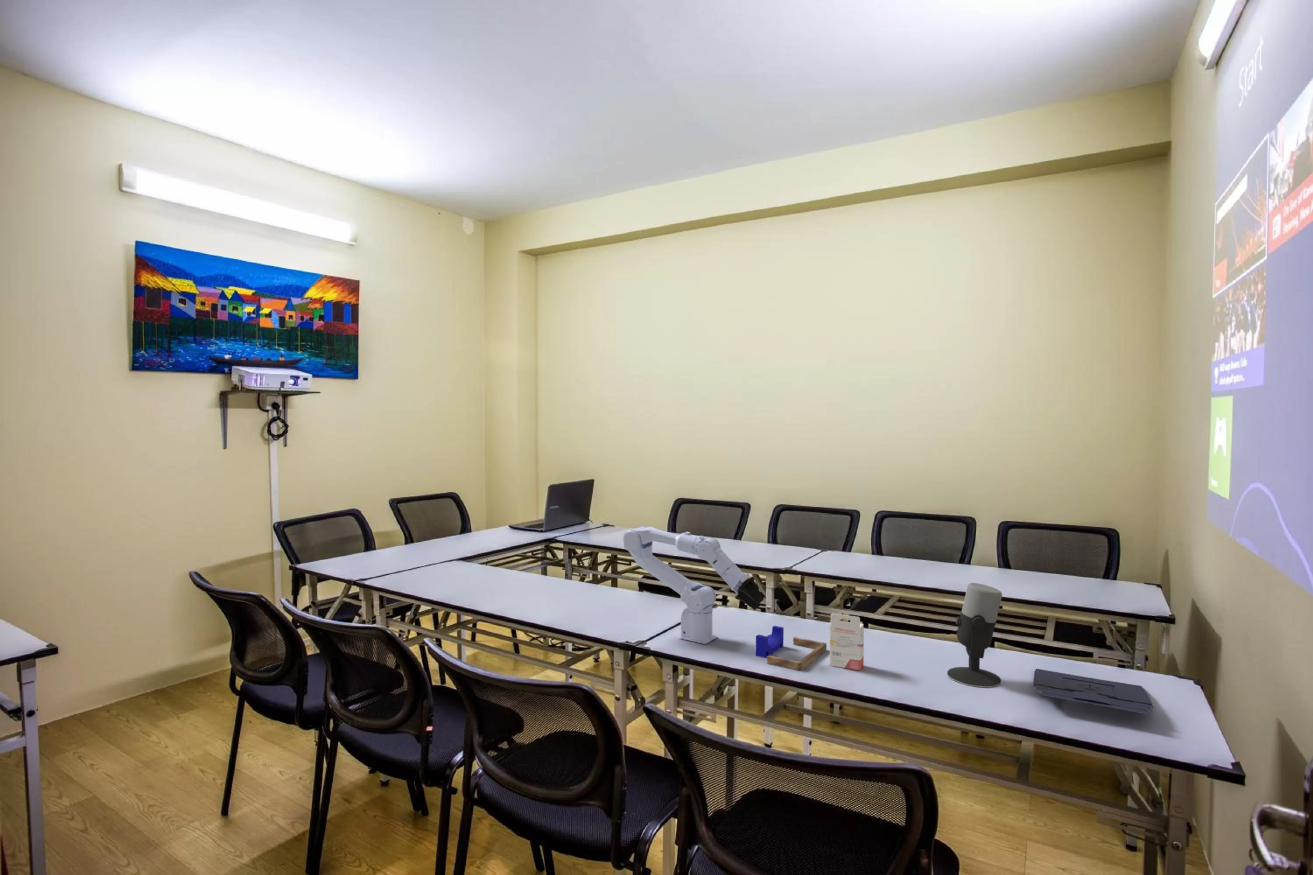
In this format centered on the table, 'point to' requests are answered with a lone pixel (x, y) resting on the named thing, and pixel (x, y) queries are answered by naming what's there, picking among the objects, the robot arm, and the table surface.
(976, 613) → the microphone
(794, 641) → the frame
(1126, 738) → the table surface
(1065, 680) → the grooved grey slab
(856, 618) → the ink cartridge box
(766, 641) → the blue curved bracket
